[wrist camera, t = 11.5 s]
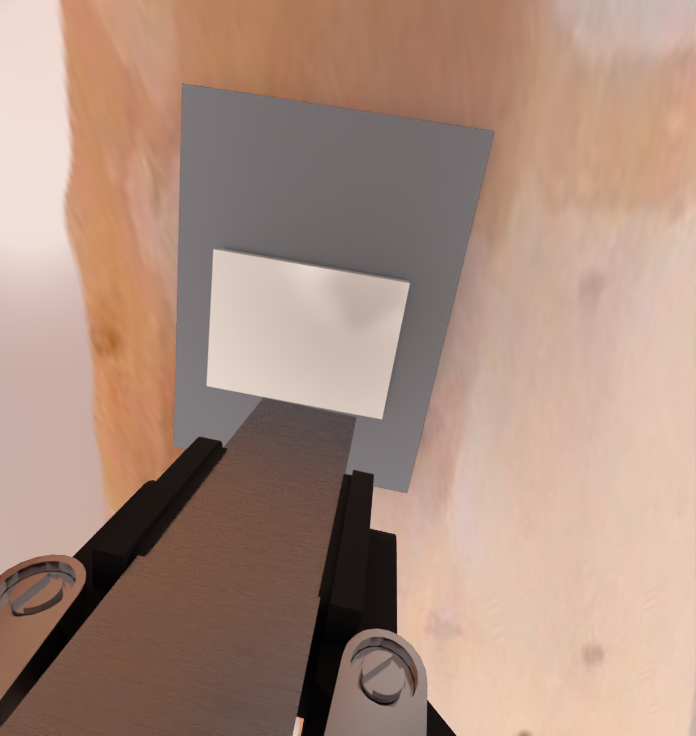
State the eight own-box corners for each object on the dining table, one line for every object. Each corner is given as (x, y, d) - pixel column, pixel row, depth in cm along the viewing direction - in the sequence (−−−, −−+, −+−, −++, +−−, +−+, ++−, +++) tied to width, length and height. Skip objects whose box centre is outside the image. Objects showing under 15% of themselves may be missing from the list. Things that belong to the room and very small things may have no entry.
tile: (213, 249, 25) (206, 386, 28) (409, 283, 25) (381, 419, 27) (223, 248, 27) (216, 378, 30) (409, 280, 26) (382, 409, 29)
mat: (190, 89, 25) (182, 83, 24) (490, 135, 24) (494, 131, 23) (180, 440, 33) (173, 446, 32) (406, 485, 32) (407, 492, 31)
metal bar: (263, 397, 13) (-587, 1467, 2) (356, 417, 13) (94, 1711, 2) (253, 478, 14) (-336, 1502, 3) (340, 497, 14) (104, 1658, 3)
